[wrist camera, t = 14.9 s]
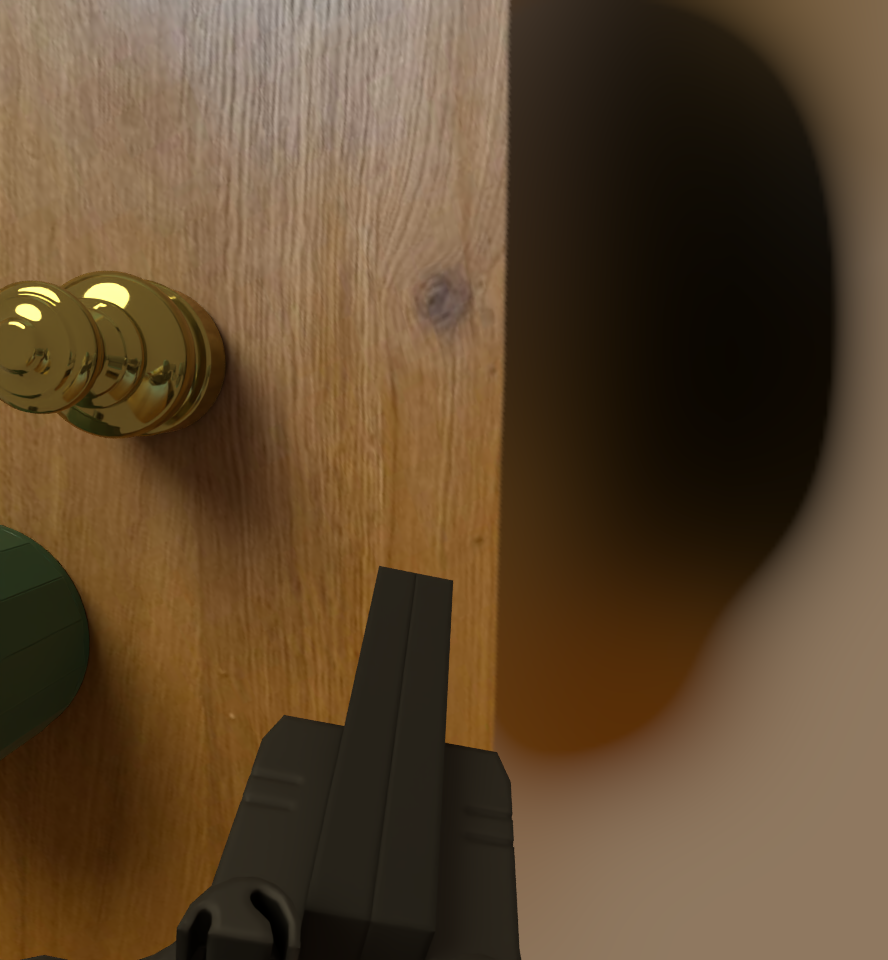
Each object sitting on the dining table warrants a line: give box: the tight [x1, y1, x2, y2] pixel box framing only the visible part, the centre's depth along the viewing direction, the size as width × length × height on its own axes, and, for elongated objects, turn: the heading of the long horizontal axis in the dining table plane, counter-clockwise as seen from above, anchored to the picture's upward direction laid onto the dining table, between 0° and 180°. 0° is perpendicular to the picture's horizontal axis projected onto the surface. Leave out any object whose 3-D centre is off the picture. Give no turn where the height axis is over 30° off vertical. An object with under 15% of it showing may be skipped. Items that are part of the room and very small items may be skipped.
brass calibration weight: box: [0, 271, 225, 439], centre depth 29 cm, size 7×7×10 cm
